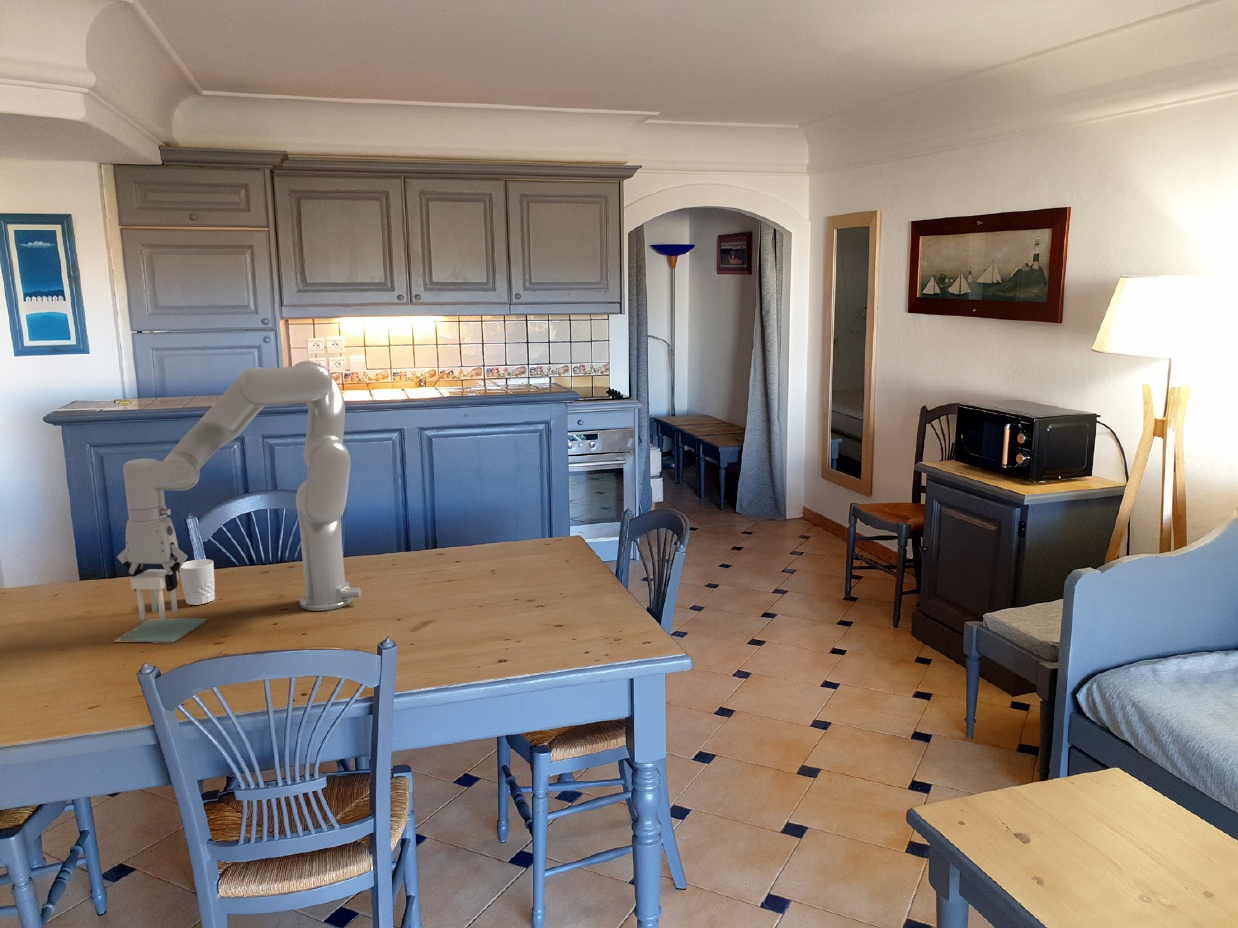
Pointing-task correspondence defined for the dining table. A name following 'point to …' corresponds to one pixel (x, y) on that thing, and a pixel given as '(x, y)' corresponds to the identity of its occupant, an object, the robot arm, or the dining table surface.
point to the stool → (153, 591)
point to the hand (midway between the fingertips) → (156, 588)
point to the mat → (162, 630)
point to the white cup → (198, 581)
